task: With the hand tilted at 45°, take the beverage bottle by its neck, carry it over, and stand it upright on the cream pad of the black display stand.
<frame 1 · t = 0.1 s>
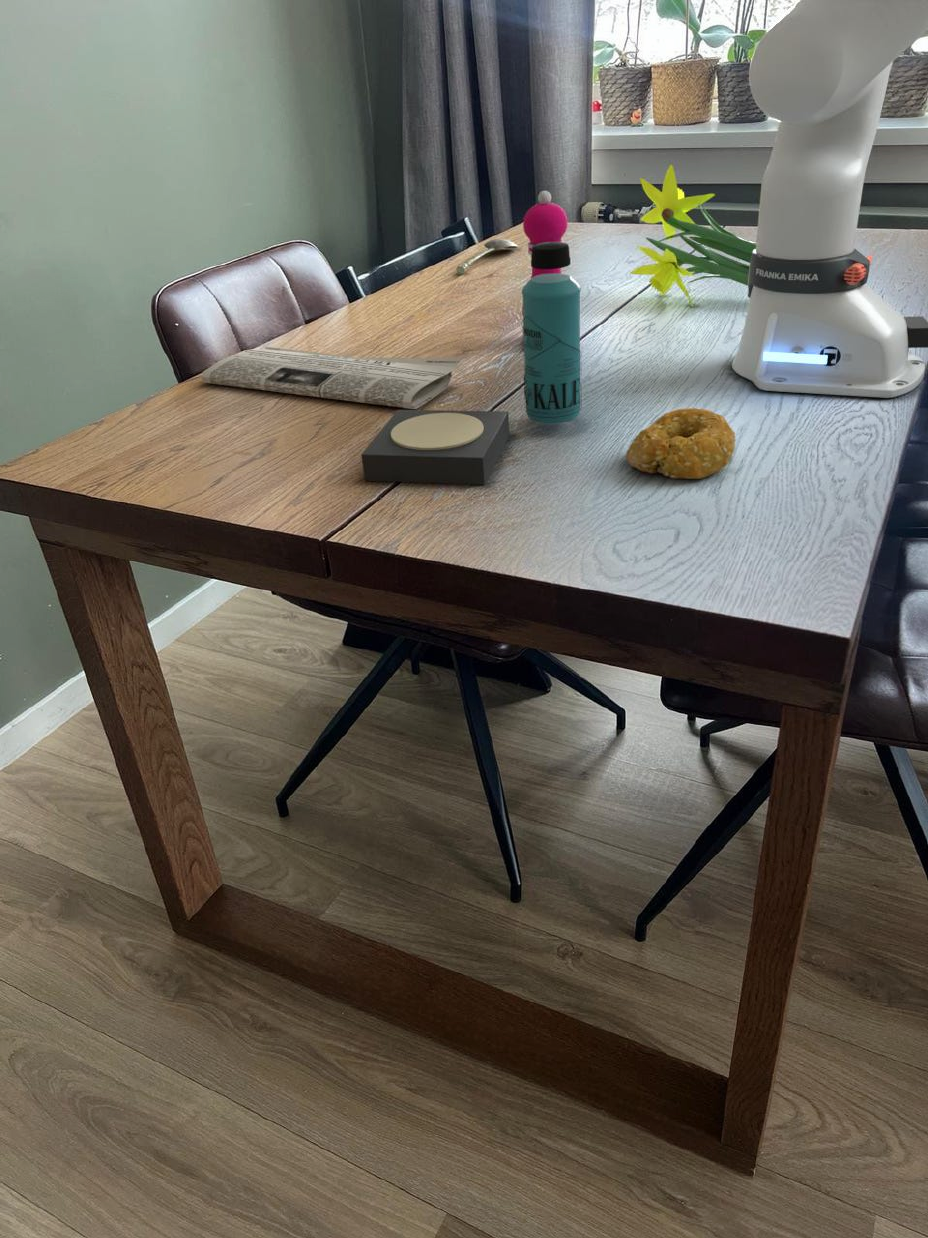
newspaper: (333, 384, 128), on the table
bagel: (679, 465, 98), on the table
daffodil flowers: (731, 301, 148), on the table
display stand: (439, 457, 104), on the table
soupspoon: (485, 262, 184), on the table
beverage bottle: (553, 427, 109), on the table
pepper mill: (548, 341, 137), on the table
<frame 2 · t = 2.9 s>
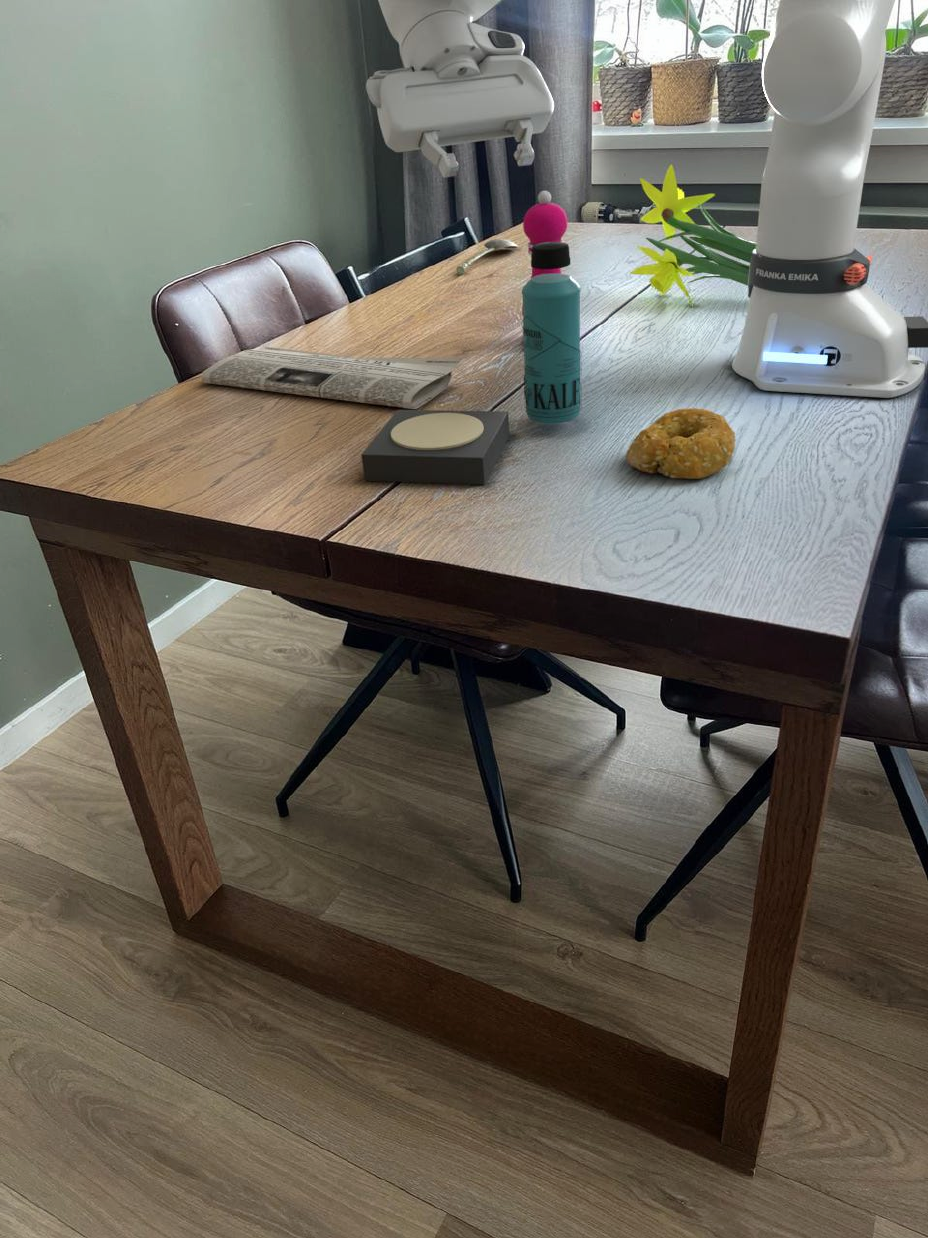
hand: (489, 167, 105), 26 cm above the table, tool tilted 45°, fingers open, 8 cm apart
nothing on the table moved.
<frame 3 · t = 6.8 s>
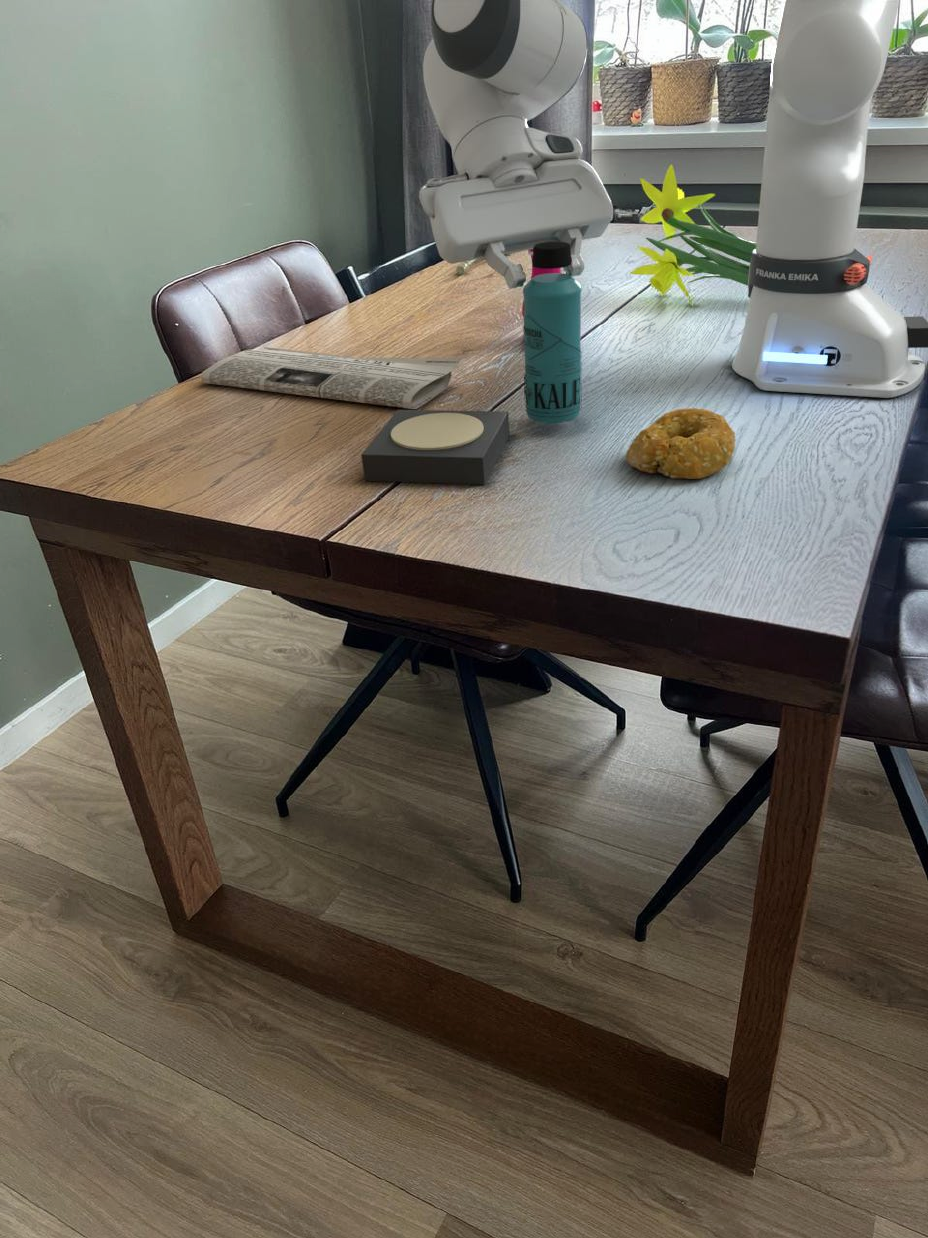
hand: (548, 278, 100), 16 cm above the table, tool tilted 45°, fingers closed on beverage bottle, 6 cm apart
beverage bottle: (553, 427, 109), on the table, touching gripper
everything else where it was.
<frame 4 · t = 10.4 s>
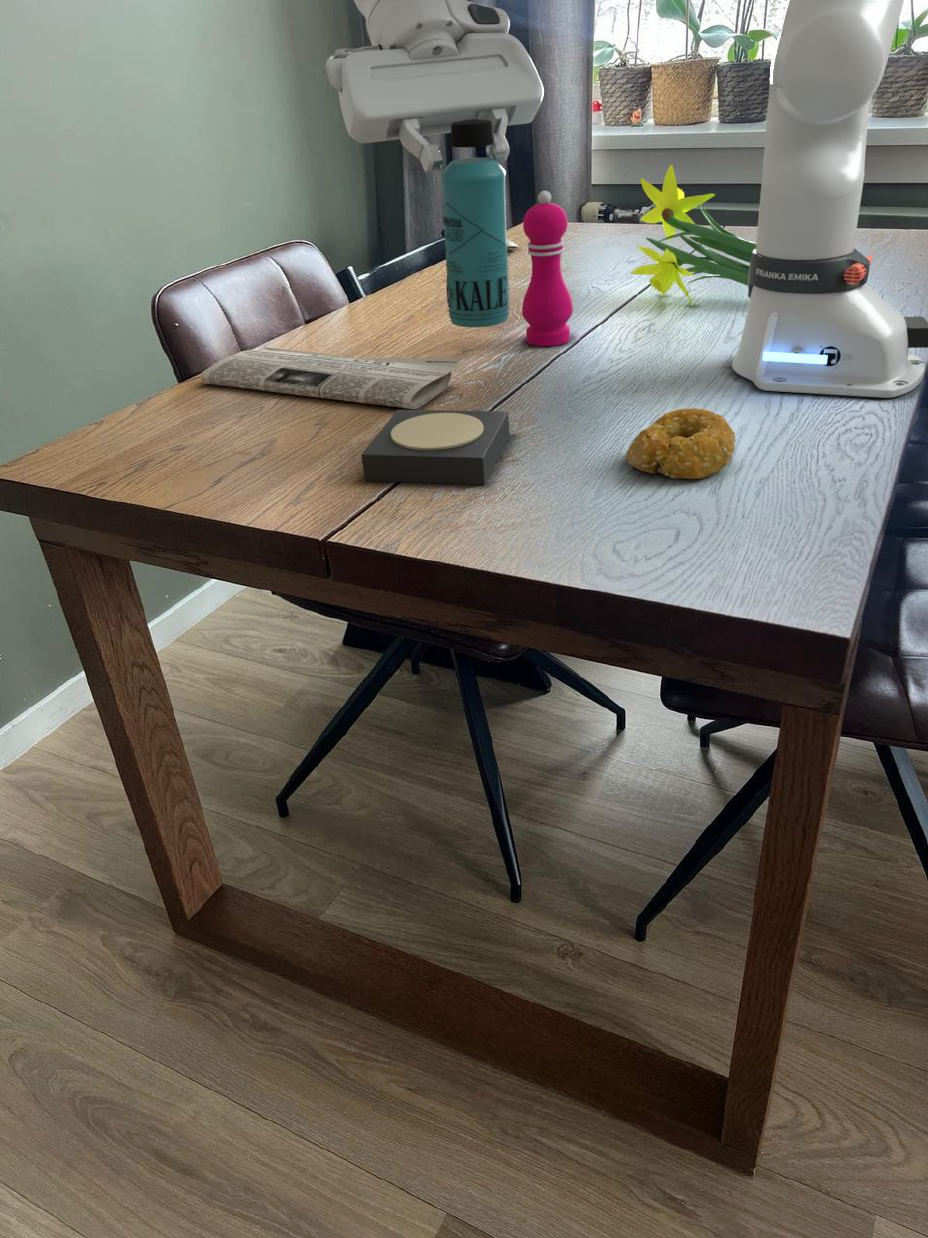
hand: (468, 161, 91), 29 cm above the table, tool tilted 45°, fingers closed on beverage bottle, 6 cm apart
beverage bottle: (480, 335, 99), point 12 cm above the table, touching gripper
everything else where it was.
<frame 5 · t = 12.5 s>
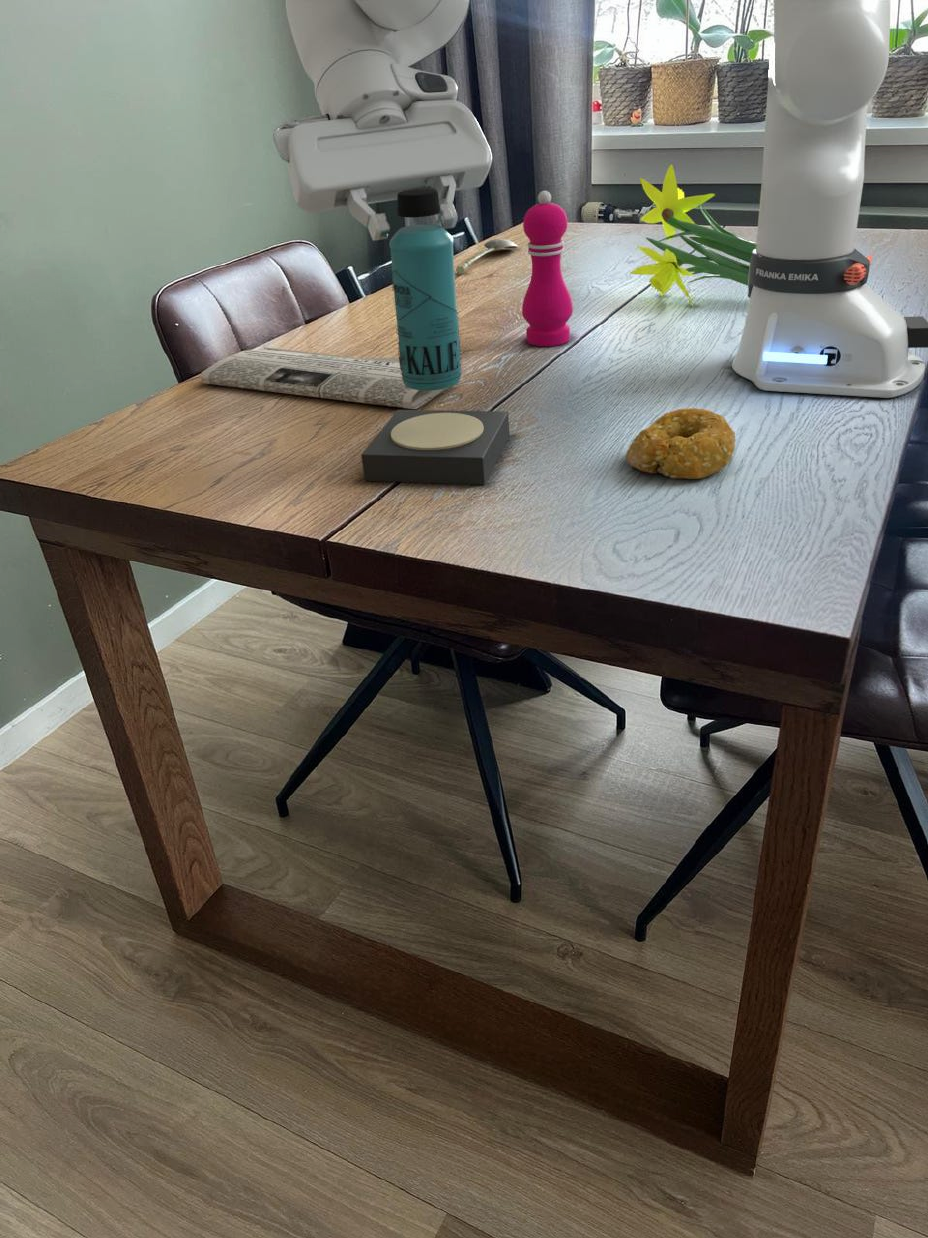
hand: (416, 229, 91), 23 cm above the table, tool tilted 45°, fingers closed on beverage bottle, 6 cm apart
beverage bottle: (433, 396, 100), point 7 cm above the table, touching gripper
everything else where it was.
when the fingers open (20 cm above the table, at t = 14.2 s): beverage bottle stays where it is, resting on display stand.
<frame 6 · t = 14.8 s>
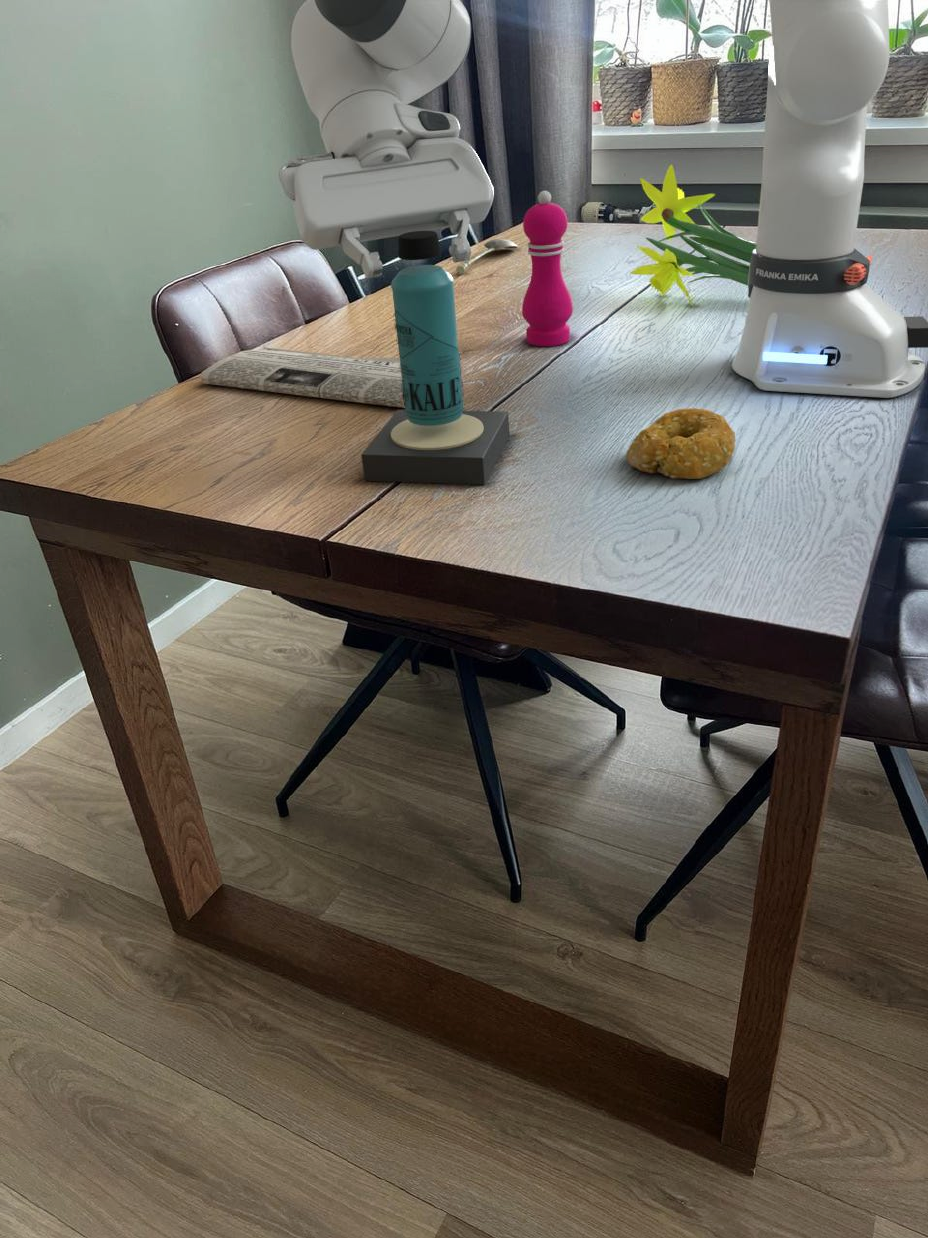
hand: (420, 265, 93), 20 cm above the table, tool tilted 45°, fingers open, 8 cm apart
beverage bottle: (436, 430, 102), point 3 cm above the table, touching display stand
everything else where it was.
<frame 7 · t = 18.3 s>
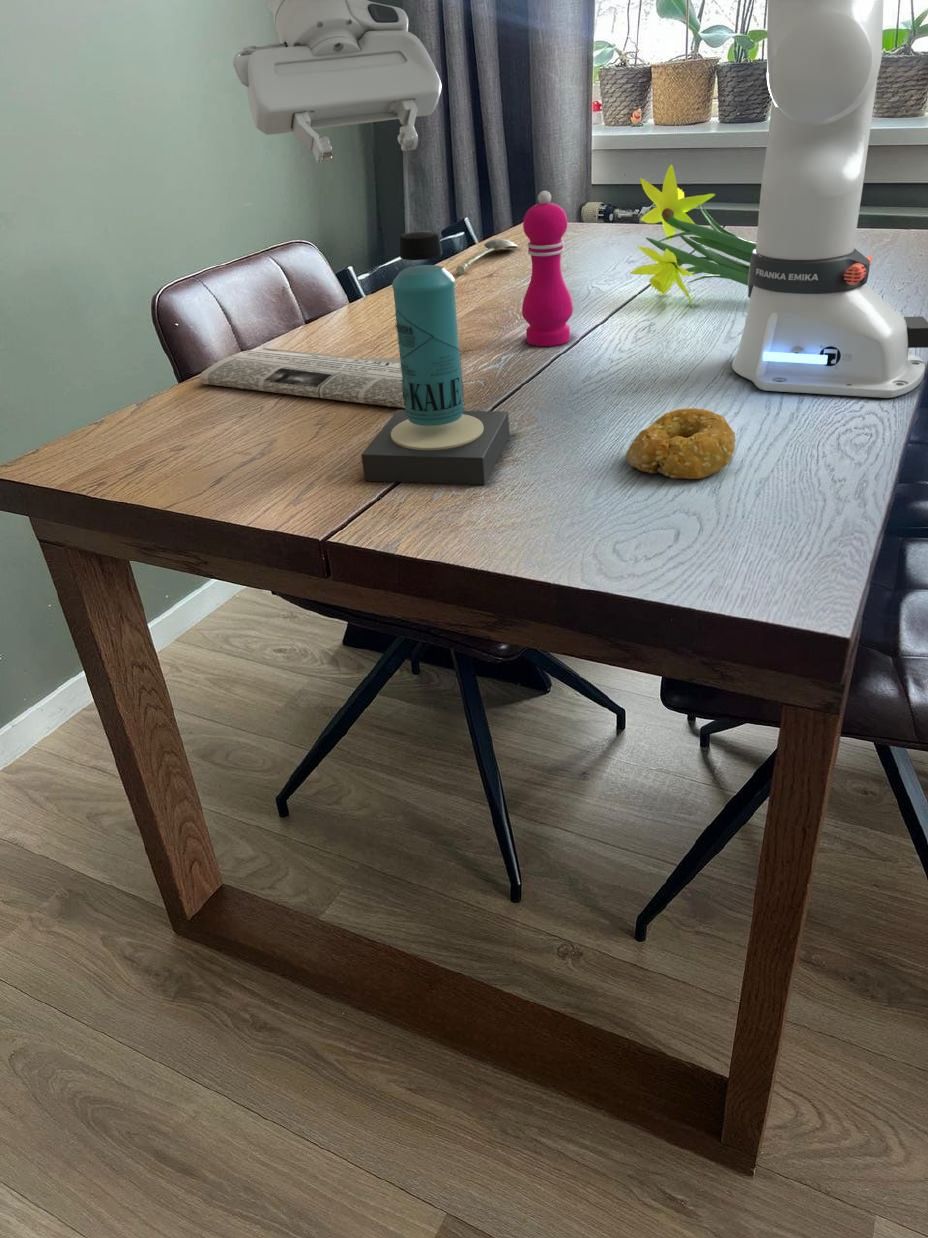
hand: (368, 151, 97), 29 cm above the table, tool tilted 45°, fingers open, 8 cm apart
nothing on the table moved.
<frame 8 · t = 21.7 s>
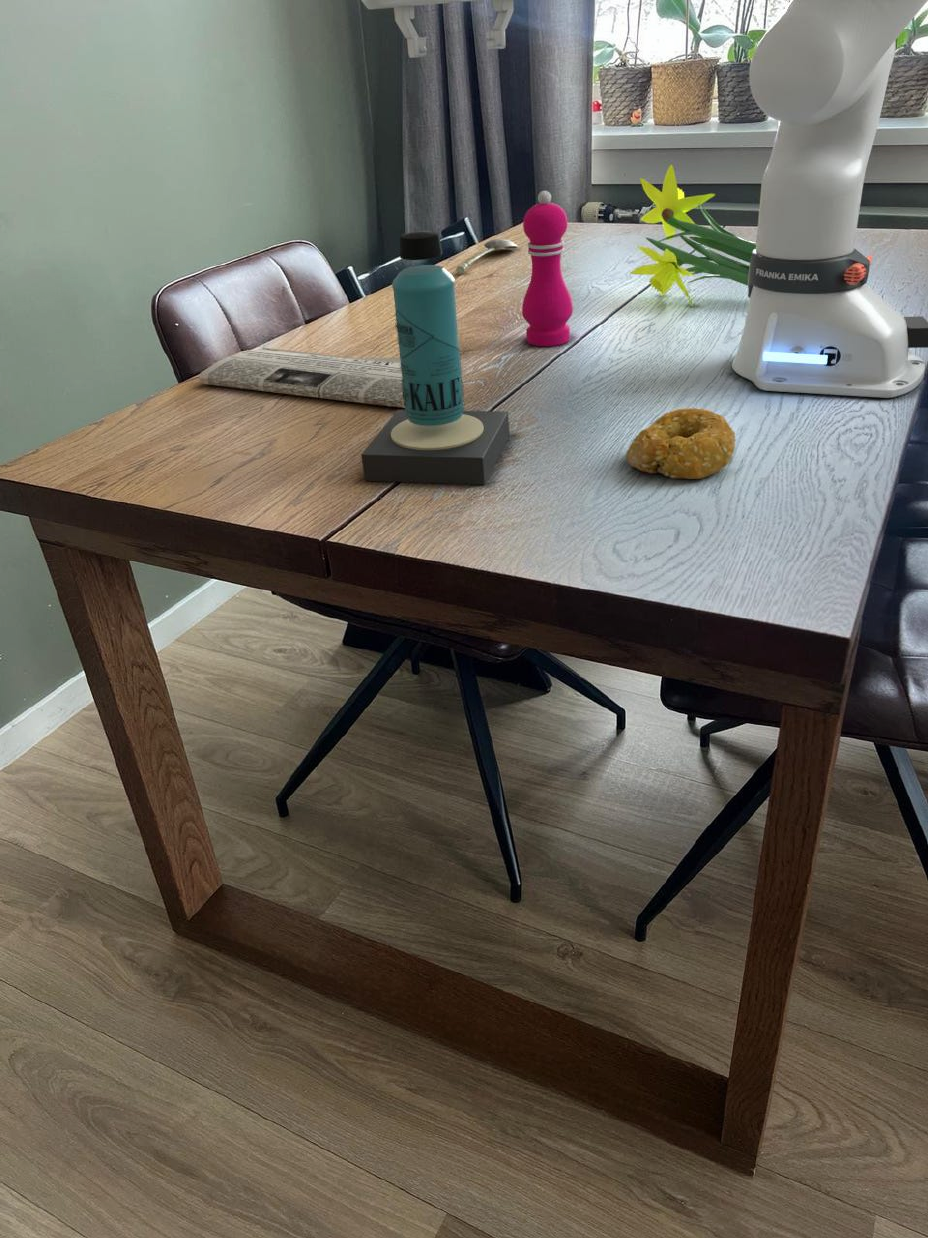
hand: (457, 52, 103), 37 cm above the table, tool pointing down, fingers open, 8 cm apart
nothing on the table moved.
at the end: beverage bottle inside the target area on the display stand (0.1 cm from its centre), point 3.1 cm above the display stand's base; beverage bottle tilted 0°; the gripper is holding nothing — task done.
